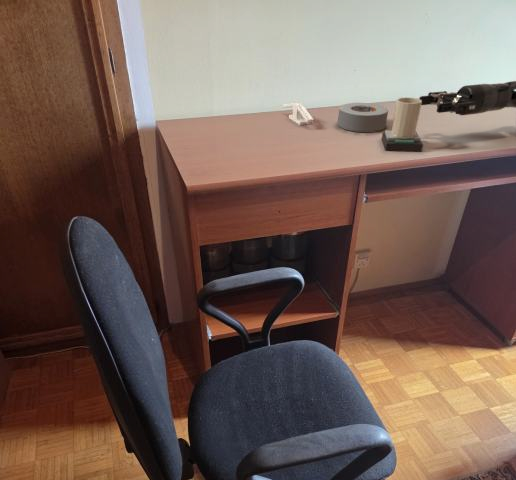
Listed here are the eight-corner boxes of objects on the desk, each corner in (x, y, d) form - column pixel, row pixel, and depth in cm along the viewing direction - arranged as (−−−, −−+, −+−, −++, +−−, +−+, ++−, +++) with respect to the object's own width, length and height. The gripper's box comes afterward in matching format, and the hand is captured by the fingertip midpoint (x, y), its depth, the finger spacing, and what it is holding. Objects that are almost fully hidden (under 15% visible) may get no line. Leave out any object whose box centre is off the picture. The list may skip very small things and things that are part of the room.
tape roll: (381, 119, 151) (384, 102, 147) (389, 133, 139) (392, 115, 136) (335, 118, 151) (337, 102, 148) (339, 132, 140) (341, 114, 137)
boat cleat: (293, 112, 157) (294, 95, 154) (318, 128, 143) (319, 109, 140) (282, 113, 156) (283, 96, 153) (306, 129, 142) (308, 110, 139)
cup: (412, 132, 131) (419, 97, 125) (416, 139, 126) (423, 103, 120) (389, 131, 131) (395, 97, 125) (392, 138, 126) (398, 103, 120)
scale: (415, 140, 134) (417, 130, 132) (421, 151, 126) (423, 141, 124) (381, 139, 134) (383, 129, 133) (385, 150, 127) (387, 140, 125)
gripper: (463, 79, 132) (416, 84, 128) (498, 90, 122) (448, 95, 117) (456, 107, 137) (410, 112, 133) (489, 120, 126) (441, 125, 122)
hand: (428, 104), depth 125 cm, fingers open, 8 cm apart
